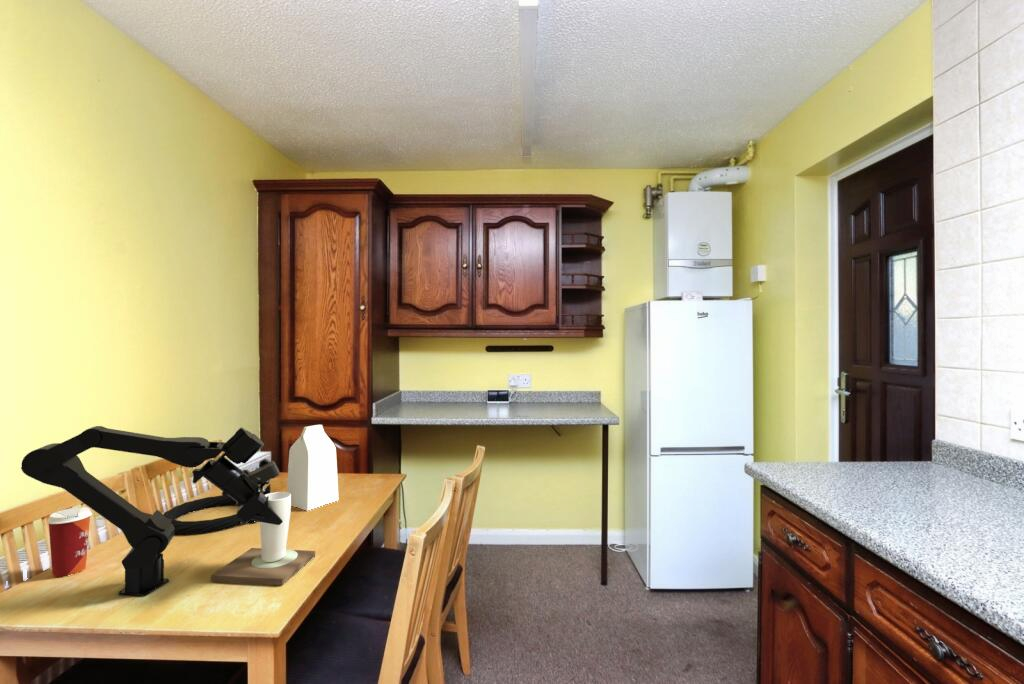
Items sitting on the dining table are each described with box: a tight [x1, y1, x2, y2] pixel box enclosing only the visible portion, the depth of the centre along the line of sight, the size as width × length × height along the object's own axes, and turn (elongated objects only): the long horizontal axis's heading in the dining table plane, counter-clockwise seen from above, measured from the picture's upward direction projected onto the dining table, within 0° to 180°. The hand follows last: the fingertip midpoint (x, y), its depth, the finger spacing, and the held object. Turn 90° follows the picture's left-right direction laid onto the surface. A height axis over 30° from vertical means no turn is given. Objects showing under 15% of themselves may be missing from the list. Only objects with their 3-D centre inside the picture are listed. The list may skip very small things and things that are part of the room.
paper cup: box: [46, 506, 93, 578], centre depth 109 cm, size 8×8×14 cm
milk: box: [286, 424, 340, 512], centre depth 156 cm, size 12×12×26 cm
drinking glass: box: [259, 491, 292, 562], centre depth 112 cm, size 7×7×15 cm
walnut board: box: [210, 547, 316, 586], centre depth 110 cm, size 14×17×2 cm
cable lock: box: [162, 494, 258, 535], centre depth 142 cm, size 28×4×30 cm
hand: (281, 518), depth 113 cm, fingers closed on drinking glass, 6 cm apart
